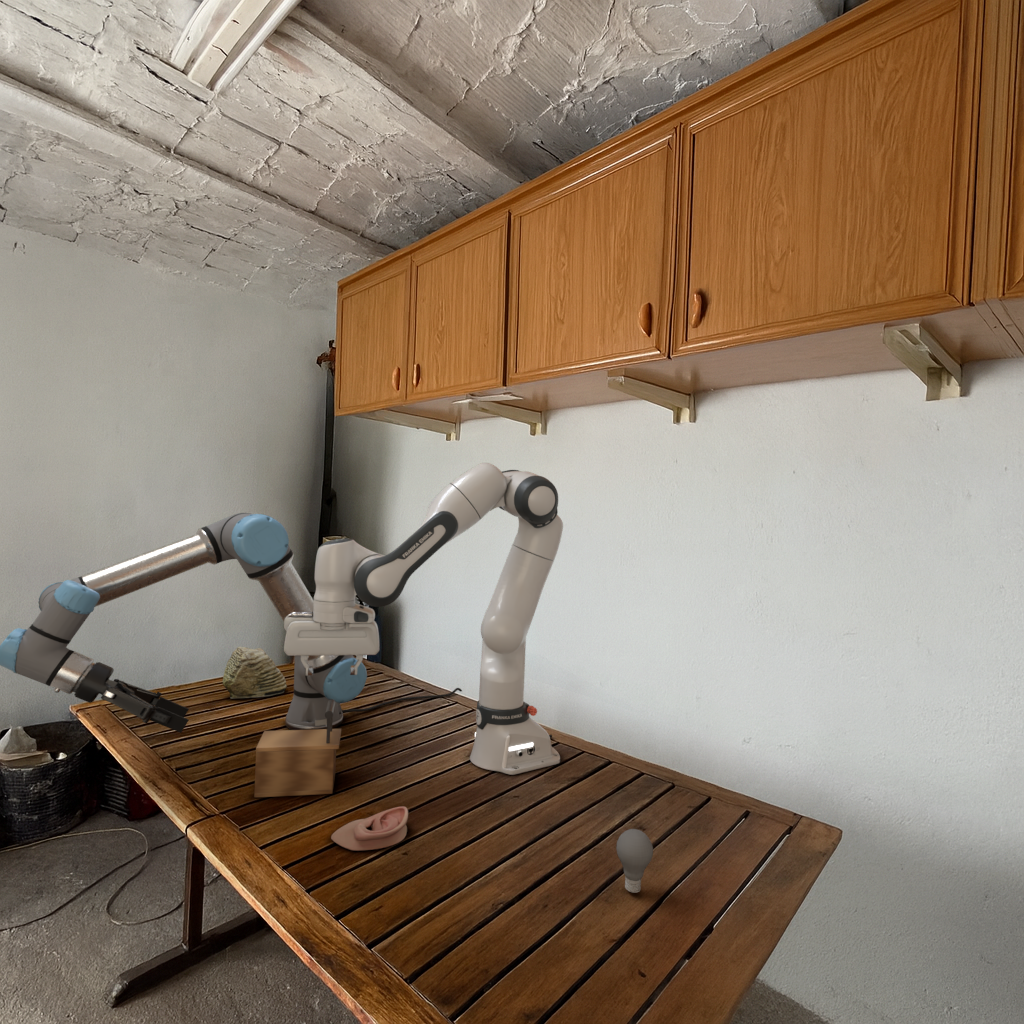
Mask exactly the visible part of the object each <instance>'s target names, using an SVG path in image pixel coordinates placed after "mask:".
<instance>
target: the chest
mask: <svg viewBox="0 0 1024 1024" xmlns="http://www.w3.org/2000/svg"><path fill="white" fill-rule="evenodd" d="M336 769H337V749H323V750H295V751H267V752H256V751H255V768H254V770H255V771H254V795H253V798H271V797H272V798H273V797H293V796H312V795H316V796H317V795H330V794H331V795H332V794H333V792H334V786H335V779H336V778H335V777H336Z"/></svg>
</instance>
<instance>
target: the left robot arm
mask: <svg viewBox="0 0 1024 1024" xmlns="http://www.w3.org/2000/svg"><path fill="white" fill-rule="evenodd" d="M289 544H290V538H289V535H288V532H287V530H286V528H285V526H284V525H283V524H282V523H281V522H280V521H279V520H277V519H275V518H274V517H272V516H270V515H267V514H262V513H251V512H238V513H234V514H231V515H229V516H227V517H224V518H222V519H220V520H217V521H215V522H213V523H210V524H208V525H205V526H203V527H200V528H198V529H197V531H196V533H195V534H193V535H189V536H188V537H185V538H182V539H179V540H176V541H174V542H171V543H168V544H166V545H163V546H159V547H157V548H155V549H152V550H148V551H146V552H144V553H141V554H138V555H135V556H132V557H130V558H127V559H124V560H121V561H119V562H116V563H113V564H110V565H107V566H105V567H102V568H100V569H97V570H93V571H91V572H88V573H86V574H83V575H80V576H79V577H75V578H72V579H65V580H64V581H60V582H59V581H58V582H54V583H51V584H49V585H48V586H46V587H45V588H44V589H43V590H42V591H41V592H40V595H39V597H38V602H37V603H38V608H39V611H40V612H39V614H38V615H37V617H36V618H35V619H34V620H33V622H32V623H31V624H30V626H29V627H28V628H27V629H26V628H21V627H17V628H15V629H13V630H12V631H10V632H9V634H8V635H7V636H6V638H5V639H3V641H2V642H1V643H0V666H1V667H3V668H5V669H7V670H10V671H11V672H13V673H14V674H17V675H20V676H23V677H25V678H27V679H31V680H33V681H36V682H38V683H40V684H43V685H46V686H48V687H51V688H54V689H53V692H54V693H60V691H61V692H63V693H66V694H68V695H71V694H72V693H74V694H73V695H74V697H75V698H76V699H80V700H82V701H84V702H87V703H93V702H94V701H95V700H96V699H97V698H98V696H99V695H101V697H100V699H101V700H102V701H106V702H108V703H110V704H112V705H114V706H116V707H118V708H120V709H122V710H123V711H126V712H128V713H130V714H131V715H134V716H136V717H137V718H138V719H140V720H142V723H144V724H148V723H149V721H151V722H154V723H156V724H158V725H161V726H163V727H166V728H168V729H170V730H172V731H175V732H178V733H181V734H182V732H183V731H184V729H185V727H186V726H187V724H188V722H189V720H190V719H188V718H187V717H185V716H186V715H187V713H188V712H189V708H188V707H185V706H184V705H181V704H179V703H177V702H174V701H172V700H169V699H167V698H165V697H162V694H163V693H162V692H160V691H157V692H155V691H154V692H153V691H151V690H147V689H144V688H142V687H139V686H136V685H134V684H130V683H128V682H125V681H124V680H120V679H118V678H114V679H113V680H112V679H110V678H111V676H112V675H113V673H114V671H115V668H113V667H112V666H110V665H107V664H105V663H103V662H100V661H98V662H97V661H96V662H94V658H92V657H89V656H87V655H86V654H83V653H80V652H78V651H76V650H75V651H74V650H73V649H70V648H69V647H68V646H69V645H70V643H71V642H72V640H73V638H74V637H75V636H76V634H77V633H78V631H79V630H80V629H81V627H82V626H83V624H84V623H85V622H86V620H87V619H88V618H89V616H90V615H91V613H93V612H94V611H95V608H96V607H99V606H101V605H104V604H106V603H108V602H111V601H113V600H116V599H119V598H122V597H124V596H126V595H130V594H131V593H134V592H136V591H140V590H142V589H145V588H147V587H149V586H152V585H155V584H157V583H159V582H162V581H165V580H167V579H171V578H172V577H175V576H178V575H180V574H182V573H183V574H184V573H185V572H188V571H190V570H193V569H196V568H198V567H200V566H203V565H206V564H211V565H214V566H215V565H218V564H220V563H222V562H227V561H230V560H237V562H238V563H239V565H240V566H241V568H242V570H243V572H244V573H245V575H246V577H248V579H249V580H253V581H257V582H258V583H259V584H260V586H261V587H262V589H263V591H264V592H265V594H266V596H267V598H268V599H269V600H270V602H271V603H272V606H273V607H274V608H275V610H276V611H277V613H278V615H279V616H280V618H281V620H282V621H283V622H284V619H285V617H286V616H287V615H289V614H292V612H313V606H314V598H313V597H312V596H311V593H310V591H309V590H308V589H307V587H306V585H305V584H304V582H303V580H302V578H301V576H300V575H299V574H298V573H299V572H298V571H297V570H296V568H295V566H294V565H293V562H292V561H293V558H294V557H295V555H294V552H293V550H292V548H291V547H290V545H289ZM289 617H292V616H289ZM307 662H308V663H309V665H310V666H313V675H312V676H306V668H305V667H304V665H303V663H302V662H301V655H300V656H294V672H293V695H292V696H293V697H292V699H291V702H290V704H289V708H288V711H287V713H286V715H285V726H286V728H287V729H288V730H314V729H327V718H326V717H325V712H326V708H327V704H328V701H329V700H331V699H333V700H335V702H336V704H335V709H334V714H333V721H332V729H336V728H337V727H339V726H340V725H342V723H343V722H344V714H343V713H356V712H357V713H358V712H359V713H360V712H368V711H371V710H372V711H373V710H374V709H377V708H380V707H382V706H386V705H390V704H393V703H397V702H403V701H409V700H422V699H434V698H437V699H438V698H445V697H450V696H452V695H454V694H455V693H456V692H458V691H459V692H460V693H461V692H463V690H462V689H461V688H460V687H456V688H454V690H452V691H451V692H449V693H445V694H444V693H443V694H435V695H421V696H420V695H419V696H408V697H401V698H396V699H392V700H389V701H385V702H381V703H378V704H377V705H373V706H369V707H366V708H352V709H350V708H349V709H342V706H341V704H344V703H348V702H351V701H352V700H354V699H356V698H357V697H358V696H359V695H360V694H361V693H362V691H363V690H364V688H365V687H366V686H365V685H366V682H367V678H368V673H367V668H366V666H365V665H364V663H363V661H362V662H361V663H360V665H359V666H358V667H357V675H350V672H351V671H350V669H351V665H355V664H356V662H357V660H356V657H355V655H308V659H307Z"/></svg>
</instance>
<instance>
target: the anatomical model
mask: <svg viewBox="0 0 1024 1024" xmlns="http://www.w3.org/2000/svg"><path fill="white" fill-rule="evenodd" d="M408 819H409V809H408V808H407V807H406V806H405V805H404V806H402V805H401V806H396V807H393V808H389V809H386V810H382V811H381V812H378V813H376V814H373V815H371V816H369V817H365V818H360V819H356V820H352V821H350V822H348V823H345V824H344V825H343V826H341V827H339V828H337V830H335V831H334V832H333V833H332V834H331V836H330V839H331V841H333V843H336V845H338V846H339V847H342V848H344V849H347V850H350V851H357V852H359V851H371V850H379V849H383V848H388V847H392V846H394V845H396V844H399V843H400V842H402V841H403V840H404V839H405V838H406V836H407V832H408V827H407V822H408Z"/></svg>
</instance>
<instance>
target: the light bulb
mask: <svg viewBox="0 0 1024 1024" xmlns="http://www.w3.org/2000/svg"><path fill="white" fill-rule="evenodd" d="M615 849H616V854H617V857H618V859H619V861H620V863H621V865H622V867H623V873H624V874H623V875H624V876H625V878H624V888H625V890H627V891H628V892H630V893H634V894H635V893H639V892H640V891H641V889H642V887H641V886H642V879H643V877H644V875H645V871H646V868H647V867H648V866H649V864H650V863H651V861H652V859H653V855H654V847H653V843H652V841H651V838H649V836H648V835H647V834H646V833H645V832H643V831H642V830H641V829H636V828H629V829H627V830H625V831H623V832H622V833H621V834H620V835H619V837H618V839H617V841H616V847H615Z"/></svg>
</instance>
